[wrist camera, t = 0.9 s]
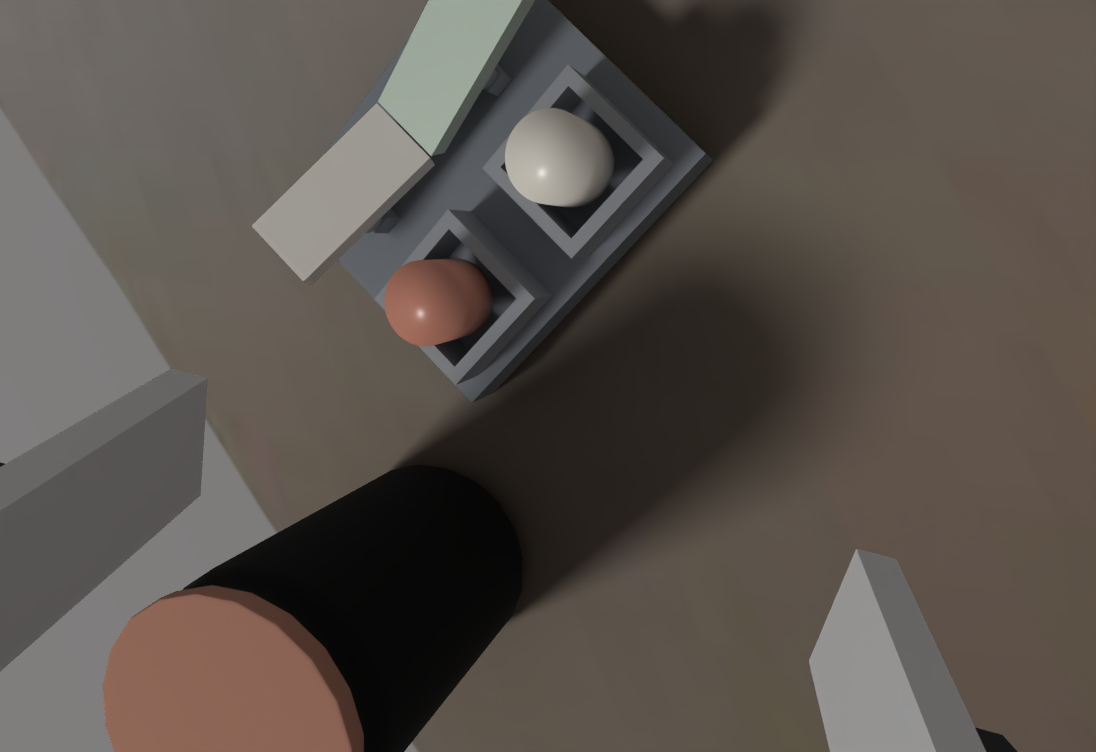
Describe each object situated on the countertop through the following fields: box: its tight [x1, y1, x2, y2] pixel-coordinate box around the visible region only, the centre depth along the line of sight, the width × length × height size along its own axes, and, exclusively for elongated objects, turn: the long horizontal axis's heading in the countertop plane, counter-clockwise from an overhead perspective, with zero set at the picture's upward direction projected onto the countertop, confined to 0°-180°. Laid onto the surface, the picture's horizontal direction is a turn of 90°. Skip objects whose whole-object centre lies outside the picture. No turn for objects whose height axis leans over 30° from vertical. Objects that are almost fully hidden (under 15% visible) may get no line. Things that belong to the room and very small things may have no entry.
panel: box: [323, 0, 713, 403], centre depth 38 cm, size 14×16×6 cm
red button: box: [384, 258, 493, 346], centre depth 35 cm, size 4×4×3 cm
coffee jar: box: [103, 465, 522, 752], centre depth 37 cm, size 11×11×18 cm
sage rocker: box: [378, 0, 535, 156], centre depth 35 cm, size 4×8×2 cm, turn 136°
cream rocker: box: [252, 103, 435, 285], centre depth 37 cm, size 4×8×2 cm, turn 136°
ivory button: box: [505, 108, 614, 208], centre depth 33 cm, size 4×4×3 cm
